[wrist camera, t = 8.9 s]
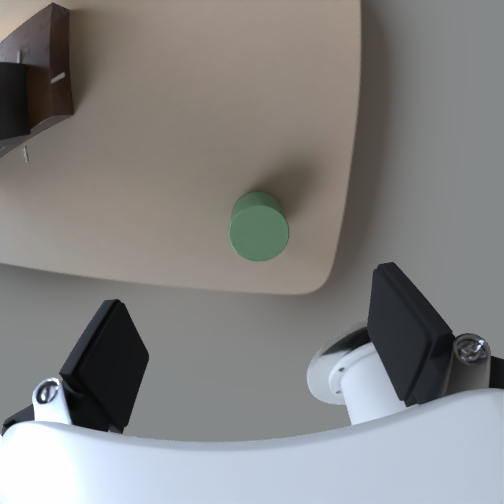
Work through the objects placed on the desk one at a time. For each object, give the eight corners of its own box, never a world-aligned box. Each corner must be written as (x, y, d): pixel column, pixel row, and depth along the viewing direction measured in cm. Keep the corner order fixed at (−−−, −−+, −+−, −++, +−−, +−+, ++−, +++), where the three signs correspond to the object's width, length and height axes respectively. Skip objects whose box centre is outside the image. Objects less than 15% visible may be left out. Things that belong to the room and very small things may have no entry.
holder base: (92, 136, 18) (71, 139, 15) (-12, 190, 19) (-30, 198, 16) (83, 2, 12) (66, -8, 9) (-23, 82, 13) (-40, 83, 10)
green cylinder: (284, 235, 22) (291, 257, 19) (236, 242, 23) (234, 265, 19) (279, 188, 21) (286, 201, 17) (227, 195, 21) (223, 210, 17)
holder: (31, 134, 15) (-4, 141, 11) (16, 143, 15) (-17, 152, 11) (26, 63, 12) (-7, 60, 8) (11, 75, 12) (-21, 75, 8)
